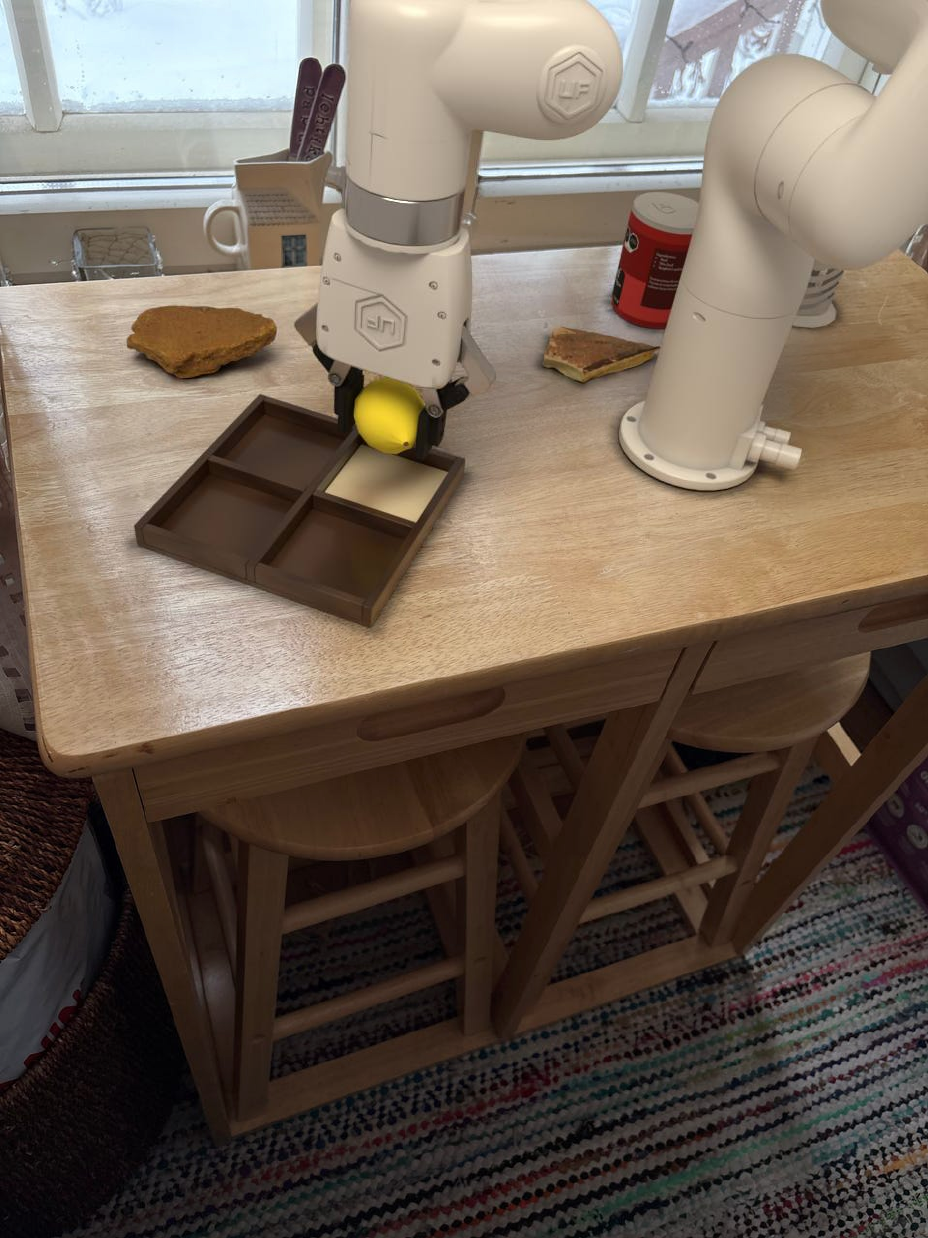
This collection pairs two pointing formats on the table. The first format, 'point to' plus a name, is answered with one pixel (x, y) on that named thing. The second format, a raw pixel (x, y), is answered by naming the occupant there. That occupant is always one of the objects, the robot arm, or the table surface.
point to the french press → (818, 299)
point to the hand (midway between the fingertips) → (388, 434)
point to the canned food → (653, 257)
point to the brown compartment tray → (303, 510)
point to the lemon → (388, 415)
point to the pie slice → (593, 353)
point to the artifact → (199, 337)
